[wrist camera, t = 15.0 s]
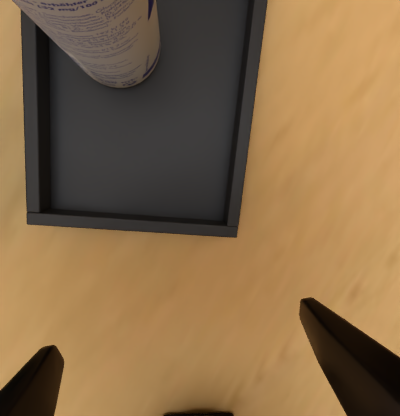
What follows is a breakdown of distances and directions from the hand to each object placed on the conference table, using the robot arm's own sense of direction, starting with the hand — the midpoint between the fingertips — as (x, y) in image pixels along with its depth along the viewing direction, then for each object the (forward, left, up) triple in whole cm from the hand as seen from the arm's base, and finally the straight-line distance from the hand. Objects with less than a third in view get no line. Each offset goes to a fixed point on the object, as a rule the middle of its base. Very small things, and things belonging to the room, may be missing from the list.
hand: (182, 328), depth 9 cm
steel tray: (+10, +3, -10) cm, 15 cm away
